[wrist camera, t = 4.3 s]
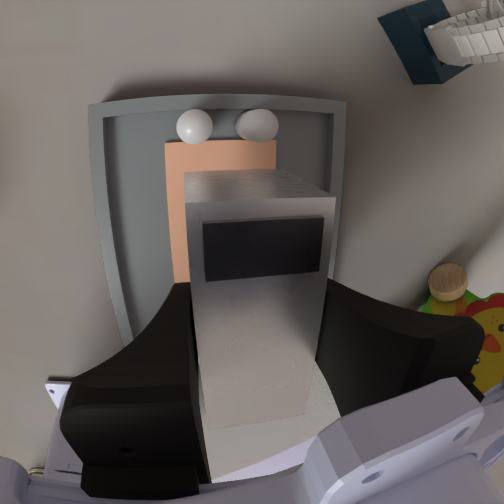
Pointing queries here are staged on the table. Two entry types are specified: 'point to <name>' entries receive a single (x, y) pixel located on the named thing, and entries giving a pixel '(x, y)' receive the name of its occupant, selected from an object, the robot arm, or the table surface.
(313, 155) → the tray
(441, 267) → the toy lion
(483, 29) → the watch
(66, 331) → the table surface
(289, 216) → the drive
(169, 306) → the robot arm
